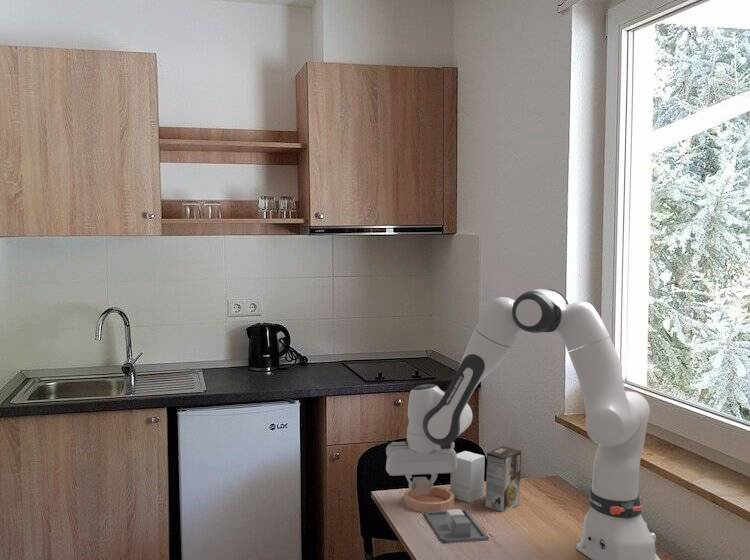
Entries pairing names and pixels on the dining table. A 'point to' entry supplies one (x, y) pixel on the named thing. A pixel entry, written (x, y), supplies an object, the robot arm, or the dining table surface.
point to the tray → (446, 535)
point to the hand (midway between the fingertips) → (420, 488)
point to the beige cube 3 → (453, 516)
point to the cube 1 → (421, 486)
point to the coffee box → (503, 478)
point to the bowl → (430, 500)
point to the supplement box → (468, 477)
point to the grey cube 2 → (461, 527)
